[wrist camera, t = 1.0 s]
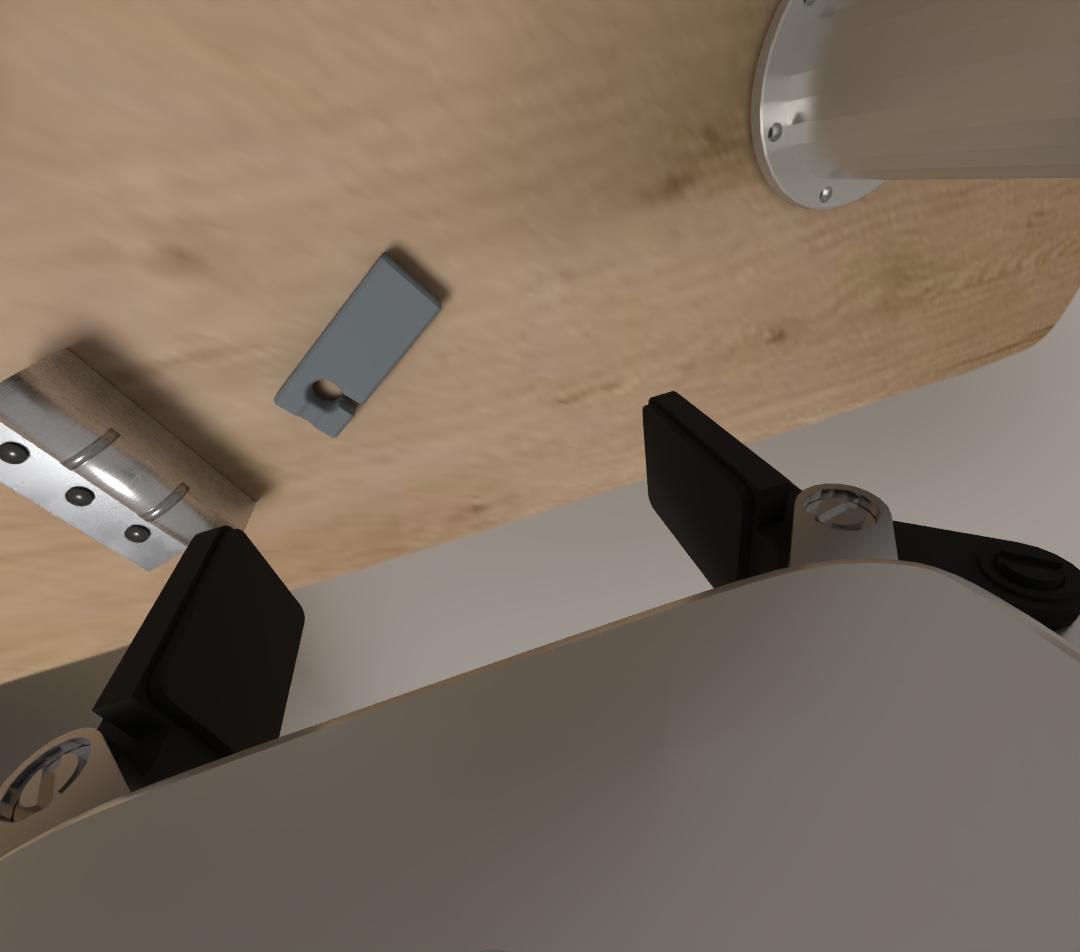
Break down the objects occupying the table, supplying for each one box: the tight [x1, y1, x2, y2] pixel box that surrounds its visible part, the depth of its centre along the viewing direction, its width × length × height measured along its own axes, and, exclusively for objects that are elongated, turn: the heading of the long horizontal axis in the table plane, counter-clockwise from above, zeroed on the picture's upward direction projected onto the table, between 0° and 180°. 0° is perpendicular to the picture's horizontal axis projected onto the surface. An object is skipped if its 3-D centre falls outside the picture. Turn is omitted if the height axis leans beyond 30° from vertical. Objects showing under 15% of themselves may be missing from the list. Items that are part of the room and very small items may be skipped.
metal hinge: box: [0, 348, 256, 572], centre depth 25 cm, size 8×12×4 cm
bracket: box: [274, 254, 441, 437], centre depth 26 cm, size 4×10×2 cm, turn 135°
